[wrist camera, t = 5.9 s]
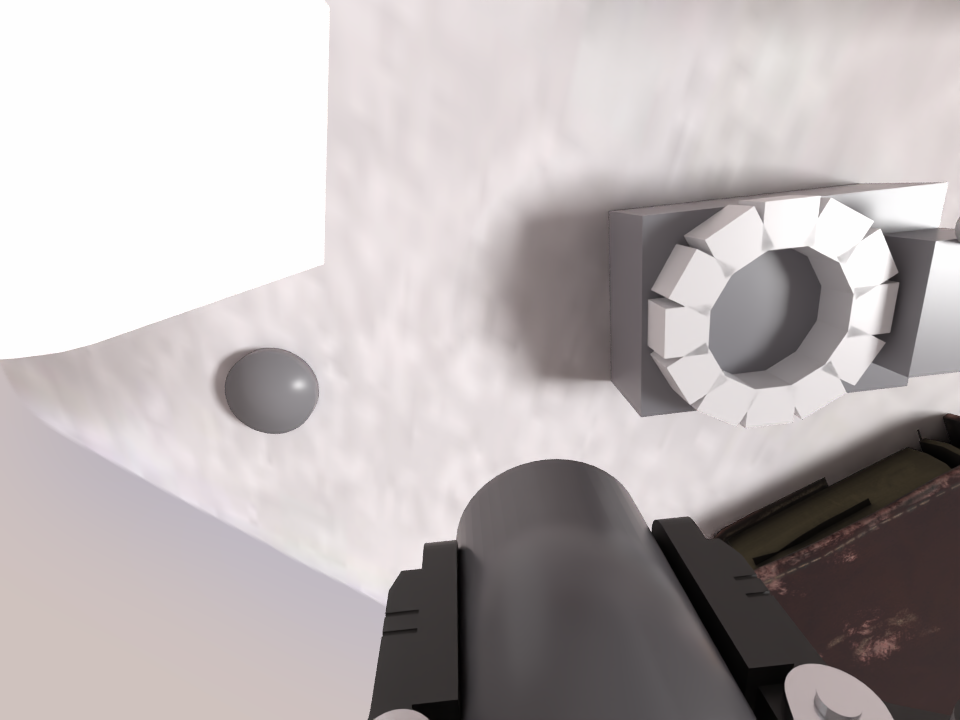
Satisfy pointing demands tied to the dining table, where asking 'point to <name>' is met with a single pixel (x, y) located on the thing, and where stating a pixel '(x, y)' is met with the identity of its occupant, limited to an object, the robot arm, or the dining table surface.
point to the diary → (872, 570)
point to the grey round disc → (272, 390)
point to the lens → (578, 608)
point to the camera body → (782, 299)
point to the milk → (154, 160)
